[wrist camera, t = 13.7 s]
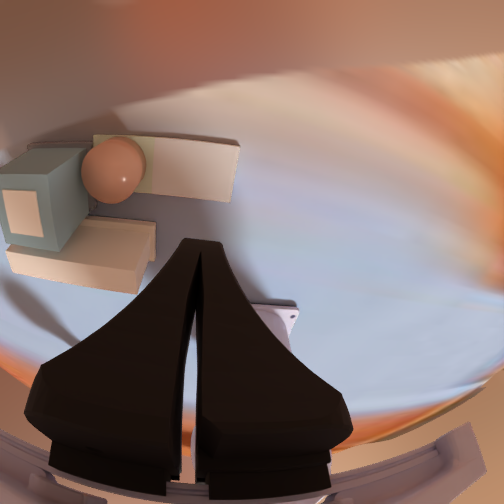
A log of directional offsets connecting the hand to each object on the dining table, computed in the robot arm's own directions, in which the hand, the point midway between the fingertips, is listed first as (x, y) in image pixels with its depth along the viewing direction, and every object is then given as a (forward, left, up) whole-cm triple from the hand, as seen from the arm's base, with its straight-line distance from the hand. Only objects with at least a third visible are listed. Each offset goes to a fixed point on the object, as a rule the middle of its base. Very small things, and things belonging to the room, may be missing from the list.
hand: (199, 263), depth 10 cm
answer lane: (0, +4, -10) cm, 11 cm away
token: (0, +6, -10) cm, 12 cm away
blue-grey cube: (-1, +11, -9) cm, 15 cm away
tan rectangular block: (-6, +9, -10) cm, 15 cm away
